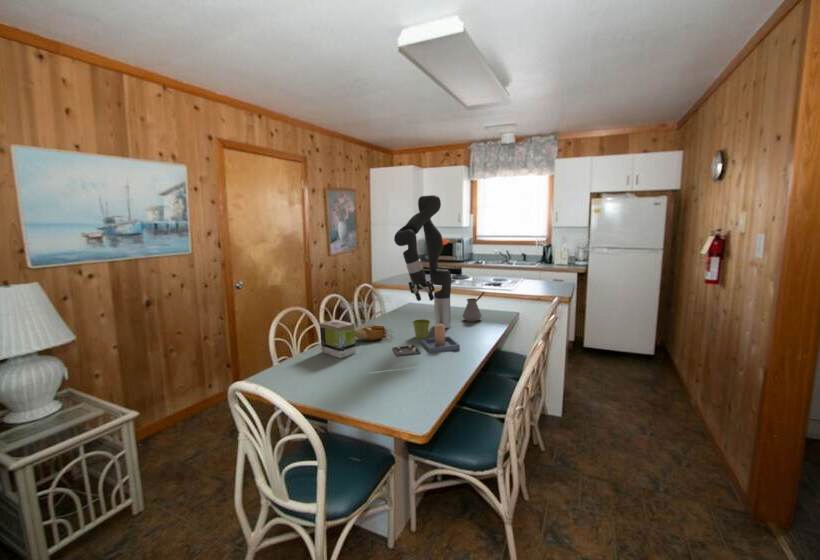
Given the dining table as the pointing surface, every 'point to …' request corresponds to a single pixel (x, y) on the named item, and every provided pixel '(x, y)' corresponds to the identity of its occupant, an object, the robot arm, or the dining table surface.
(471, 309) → the coffee pot
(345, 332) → the tea box
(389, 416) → the dining table surface
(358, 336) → the nautilus
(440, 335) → the tan rounded pillar
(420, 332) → the plant pot
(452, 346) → the shallow square tray
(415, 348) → the parts tray
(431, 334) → the dining table surface
